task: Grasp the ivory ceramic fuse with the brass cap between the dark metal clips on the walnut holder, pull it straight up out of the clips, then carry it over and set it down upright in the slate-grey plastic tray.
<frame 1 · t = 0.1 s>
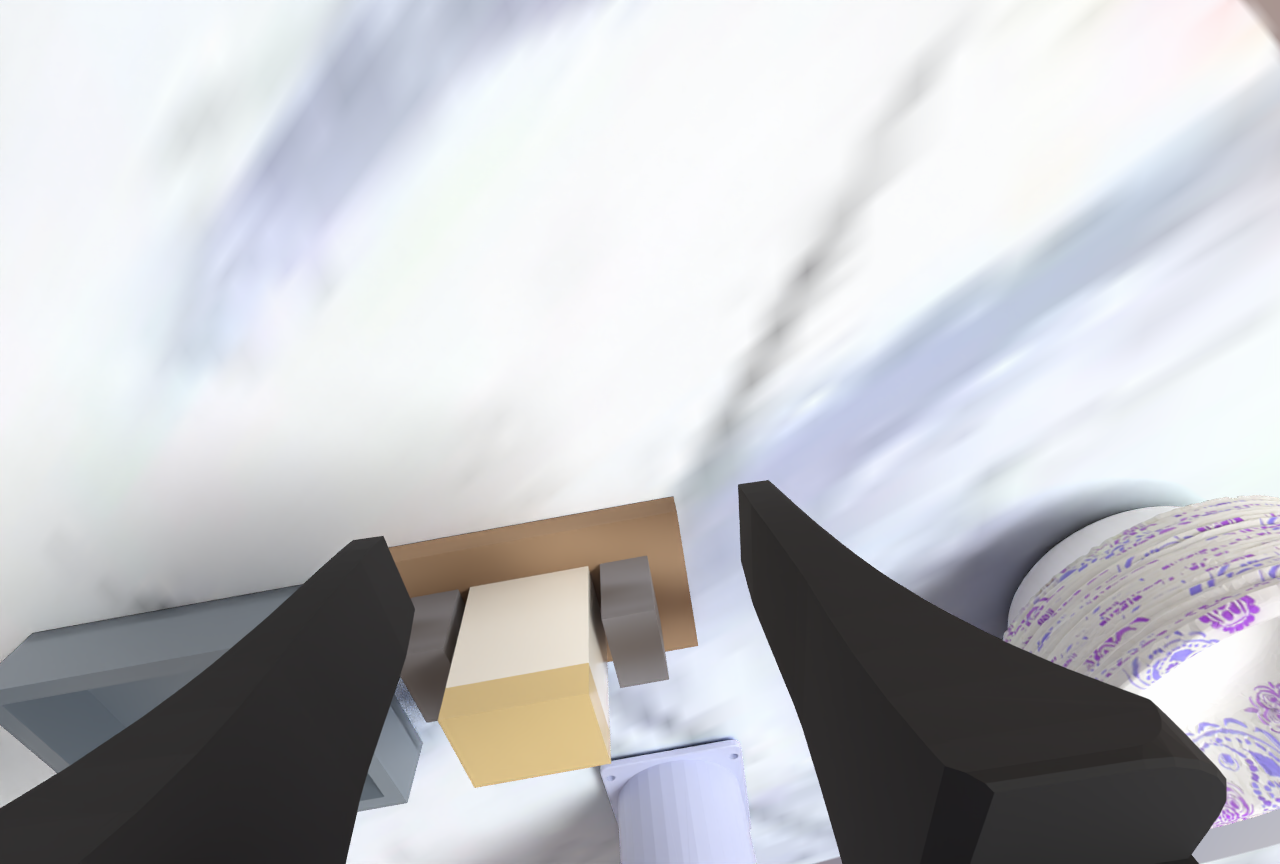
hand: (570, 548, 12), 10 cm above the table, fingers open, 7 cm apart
white bowl: (1100, 580, 29), on the table
fuse: (540, 610, 25), point 1 cm above the table, touching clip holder
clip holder: (542, 593, 26), on the table
tray: (248, 693, 27), on the table
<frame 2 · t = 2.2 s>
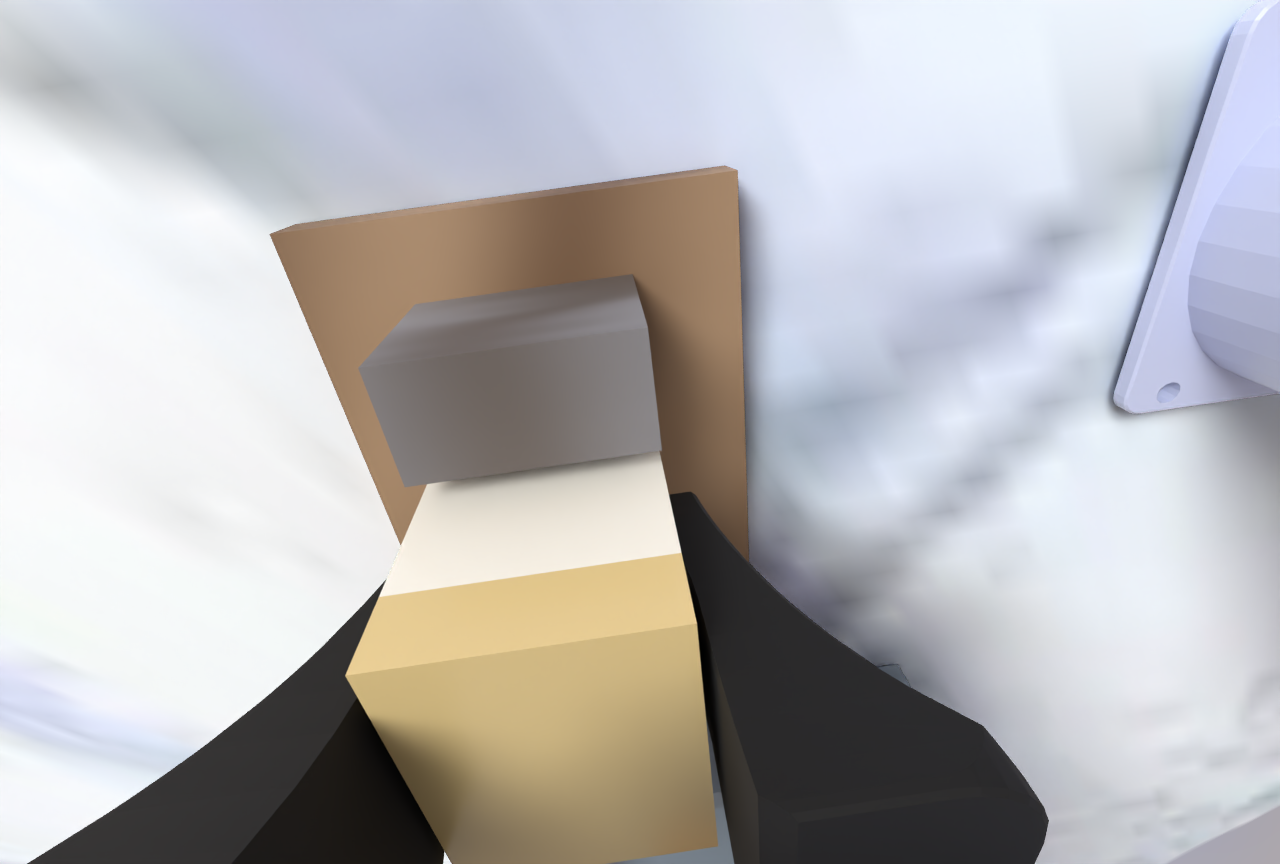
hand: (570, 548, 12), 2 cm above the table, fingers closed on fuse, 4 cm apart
fuse: (571, 507, 13), point 1 cm above the table, touching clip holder, gripper
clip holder: (572, 482, 14), on the table
tray: (723, 801, 21), on the table
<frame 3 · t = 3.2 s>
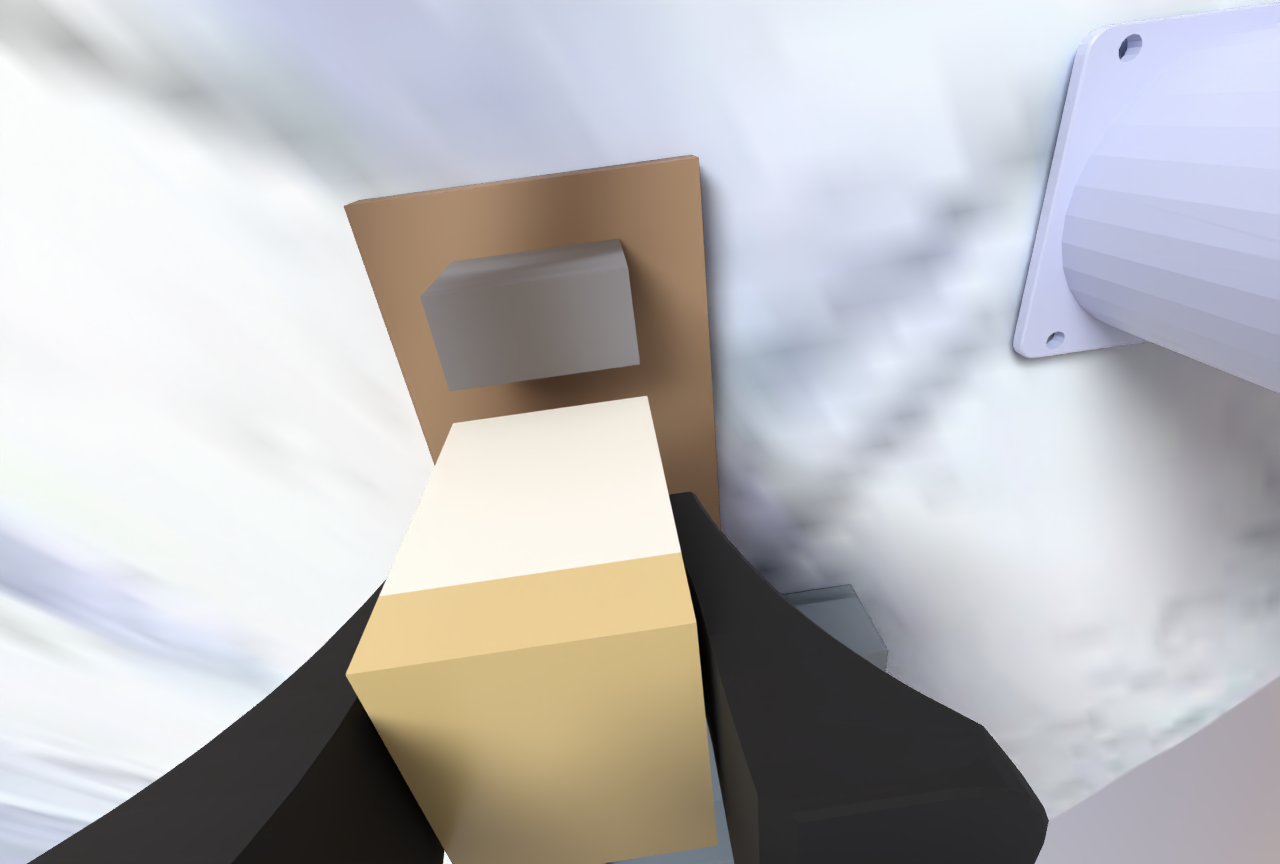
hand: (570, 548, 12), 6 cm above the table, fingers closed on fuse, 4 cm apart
fuse: (571, 506, 13), point 5 cm above the table, touching gripper
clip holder: (573, 415, 17), on the table
tray: (704, 715, 24), on the table
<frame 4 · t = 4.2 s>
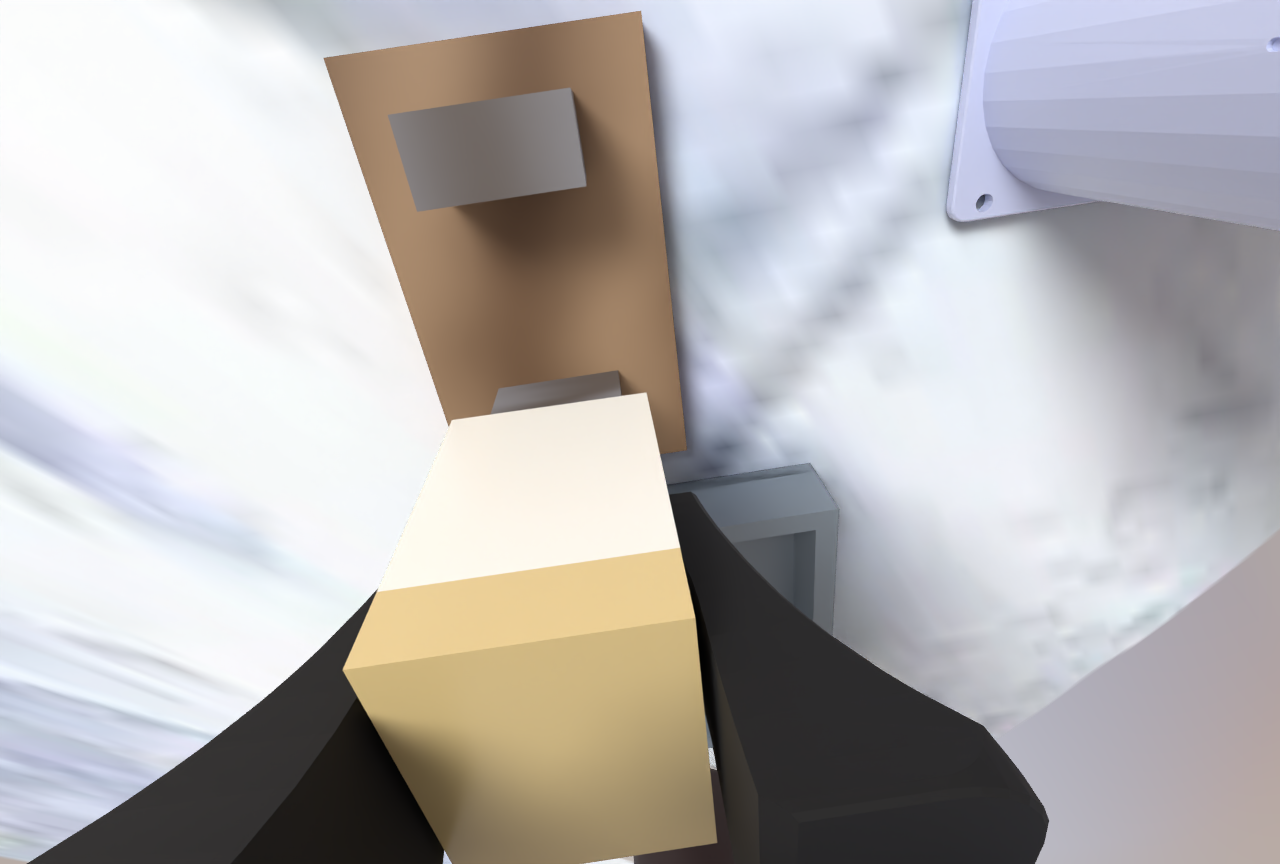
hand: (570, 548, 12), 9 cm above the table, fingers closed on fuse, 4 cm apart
fuse: (570, 504, 13), point 8 cm above the table, touching gripper
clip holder: (541, 281, 18), on the table
bottle: (686, 794, 34), on the table
tray: (678, 601, 26), on the table
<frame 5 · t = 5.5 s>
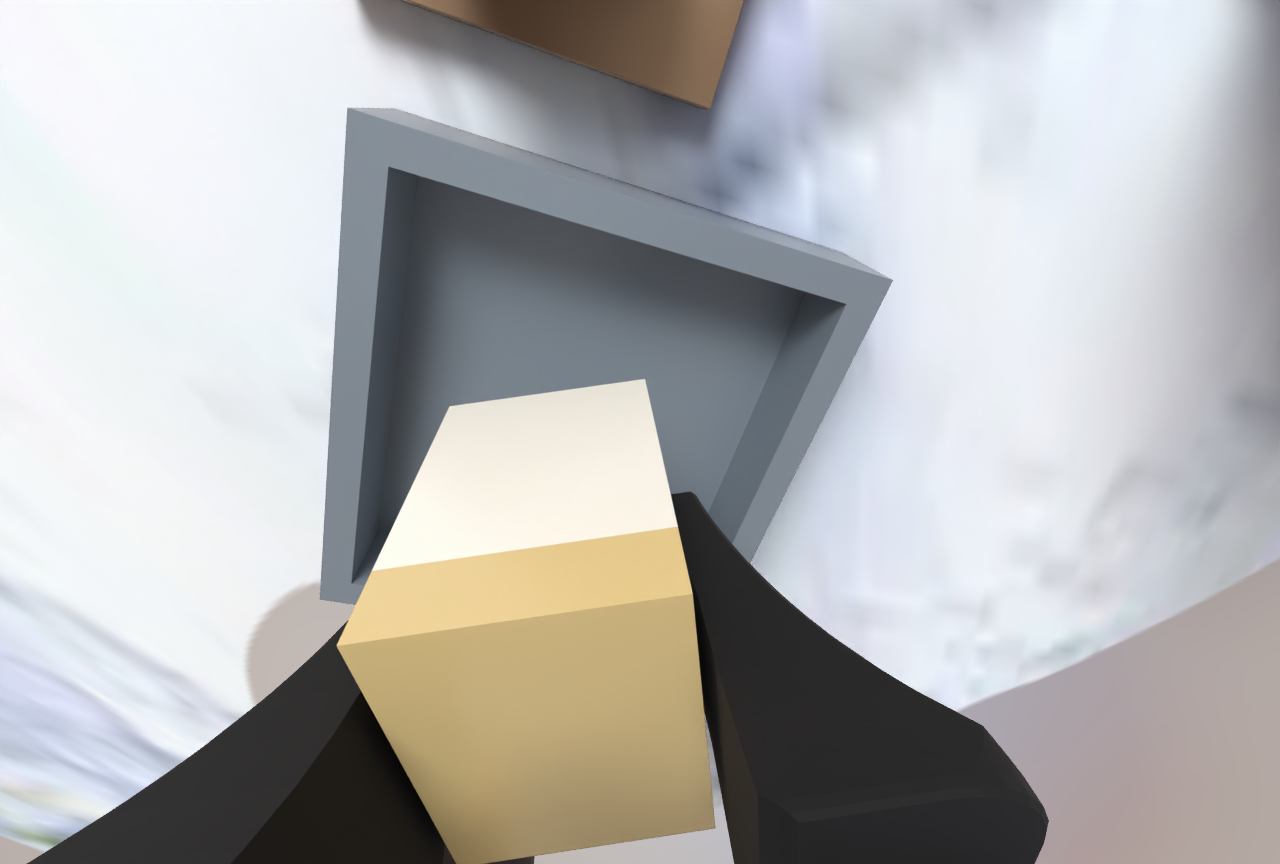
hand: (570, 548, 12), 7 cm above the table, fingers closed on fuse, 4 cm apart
fuse: (569, 492, 13), point 5 cm above the table, touching gripper
bottle: (463, 721, 24), on the table
tray: (576, 405, 17), on the table
when the fingers open (3 cm above the table, at t = 6.4 s): fuse drops 1 cm, resting on tray.
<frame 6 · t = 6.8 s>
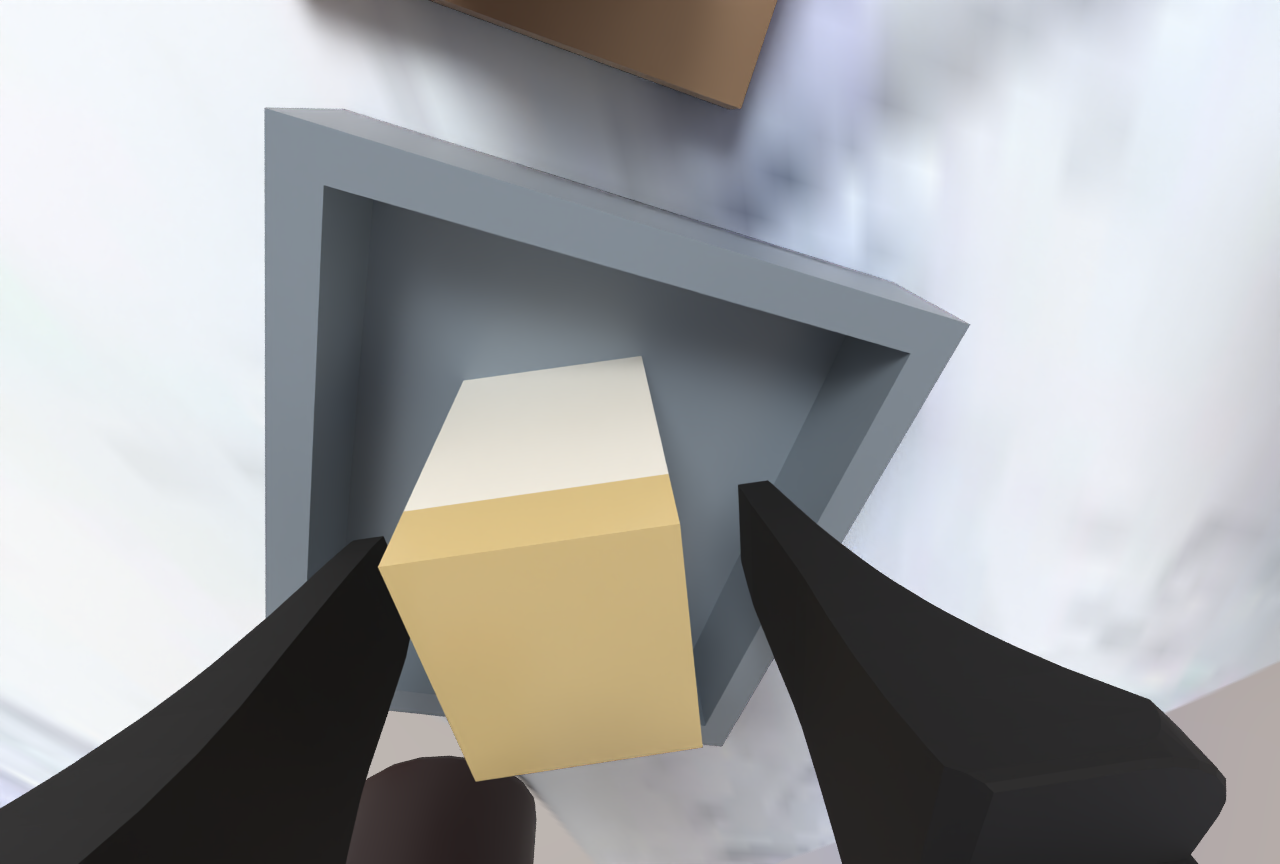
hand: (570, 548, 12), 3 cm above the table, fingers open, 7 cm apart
fuse: (572, 462, 14), point 1 cm above the table, touching tray
bottle: (447, 798, 22), on the table
tray: (573, 460, 15), on the table
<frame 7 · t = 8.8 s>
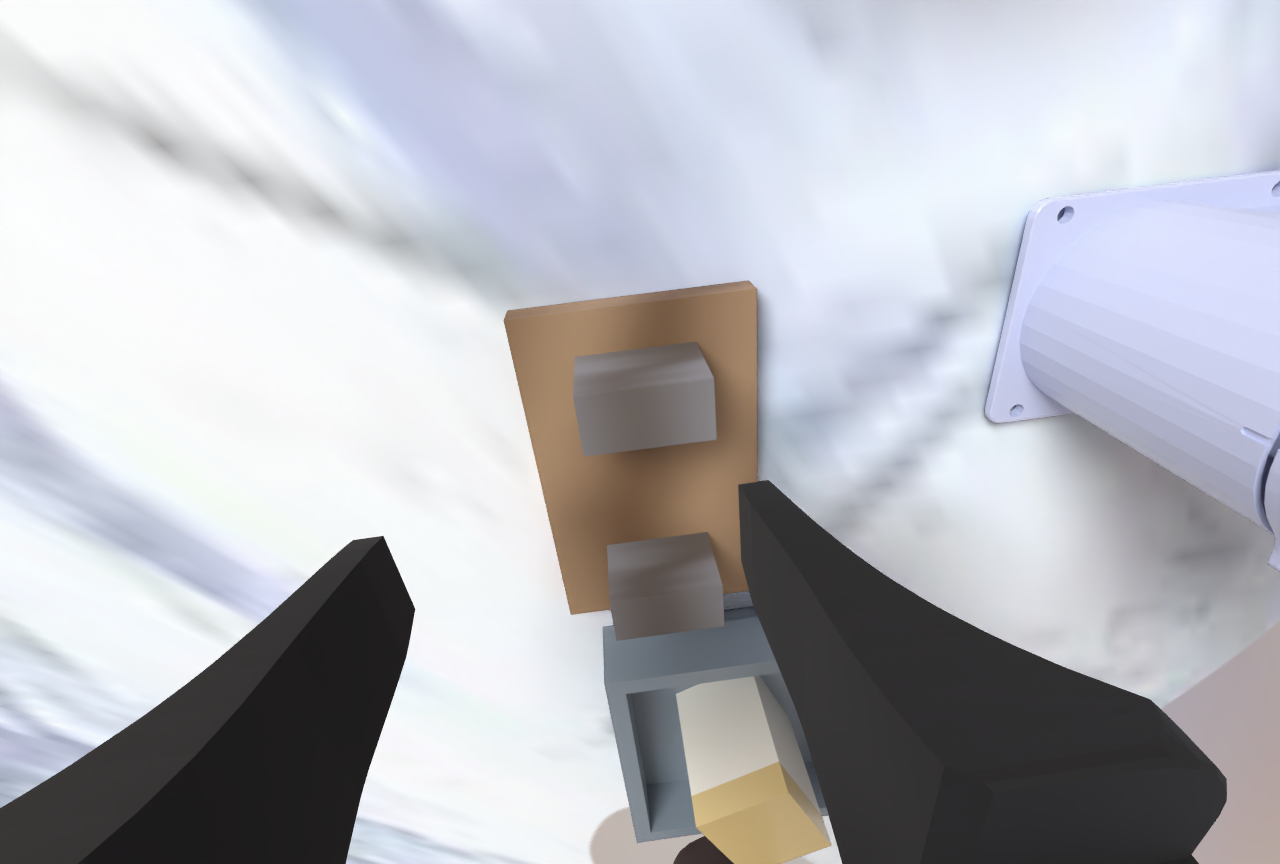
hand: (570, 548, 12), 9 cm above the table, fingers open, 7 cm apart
fuse: (733, 705, 29), point 1 cm above the table, touching tray
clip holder: (647, 461, 22), on the table
bottle: (722, 852, 37), on the table
tray: (733, 698, 29), on the table
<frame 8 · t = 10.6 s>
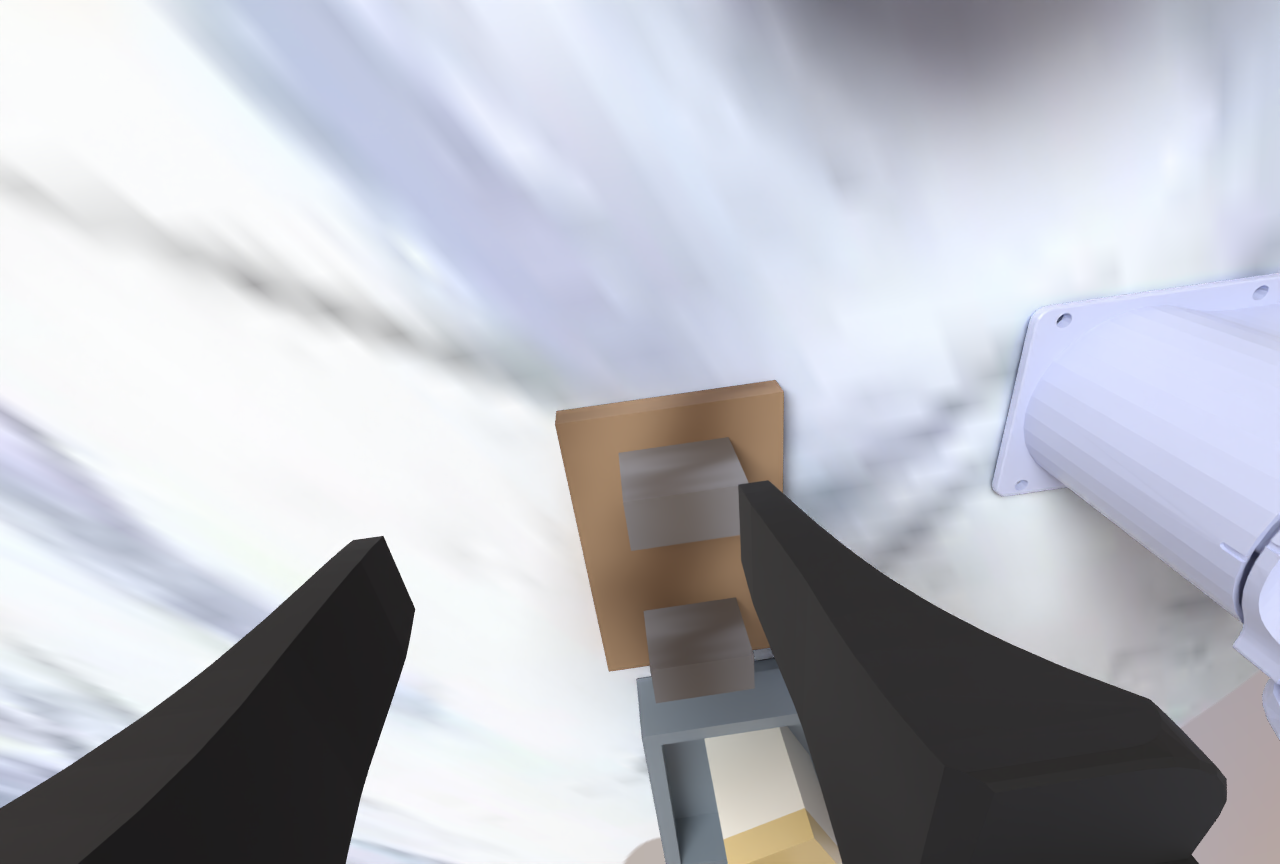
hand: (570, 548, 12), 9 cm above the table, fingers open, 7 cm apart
fuse: (758, 746, 31), point 1 cm above the table, touching tray
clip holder: (680, 534, 24), on the table
tray: (757, 739, 31), on the table
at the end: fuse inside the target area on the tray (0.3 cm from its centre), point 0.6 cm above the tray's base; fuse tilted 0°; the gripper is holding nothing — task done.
